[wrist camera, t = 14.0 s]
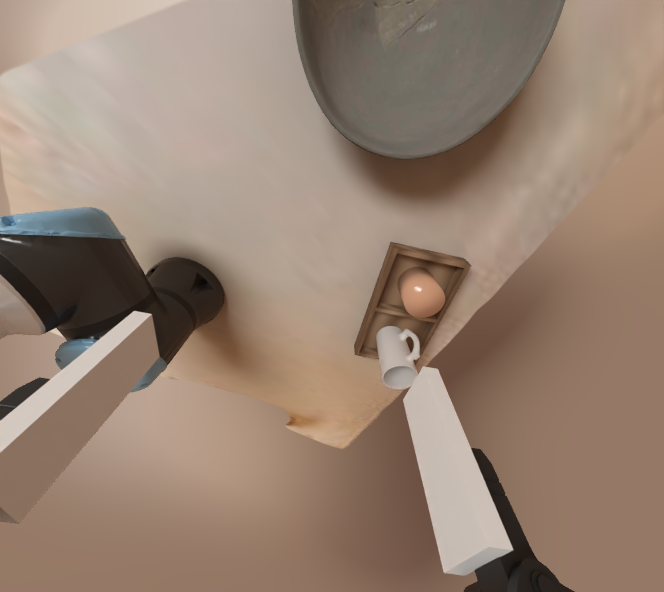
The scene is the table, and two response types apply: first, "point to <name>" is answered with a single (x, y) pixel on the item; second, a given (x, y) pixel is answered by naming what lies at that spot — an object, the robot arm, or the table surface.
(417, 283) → the brown egg
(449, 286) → the divided wooden tray
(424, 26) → the bowl
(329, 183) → the table surface
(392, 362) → the mug
